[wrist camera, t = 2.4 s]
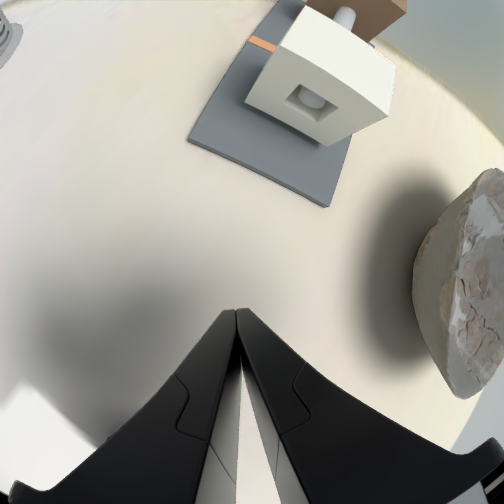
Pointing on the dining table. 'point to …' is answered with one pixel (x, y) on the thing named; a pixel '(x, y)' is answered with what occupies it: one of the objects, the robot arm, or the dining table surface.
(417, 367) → the dining table surface
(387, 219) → the dining table surface
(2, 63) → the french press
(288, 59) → the sleeve
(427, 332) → the ceramic bowl
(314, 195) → the rod stand
